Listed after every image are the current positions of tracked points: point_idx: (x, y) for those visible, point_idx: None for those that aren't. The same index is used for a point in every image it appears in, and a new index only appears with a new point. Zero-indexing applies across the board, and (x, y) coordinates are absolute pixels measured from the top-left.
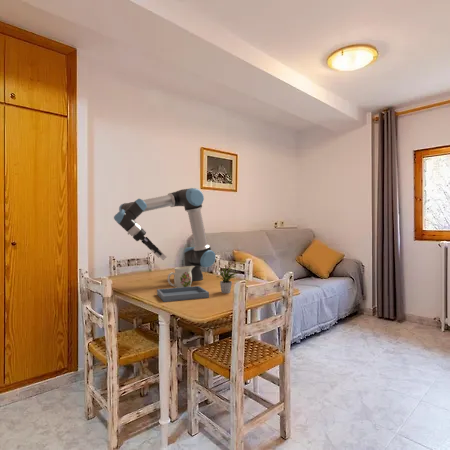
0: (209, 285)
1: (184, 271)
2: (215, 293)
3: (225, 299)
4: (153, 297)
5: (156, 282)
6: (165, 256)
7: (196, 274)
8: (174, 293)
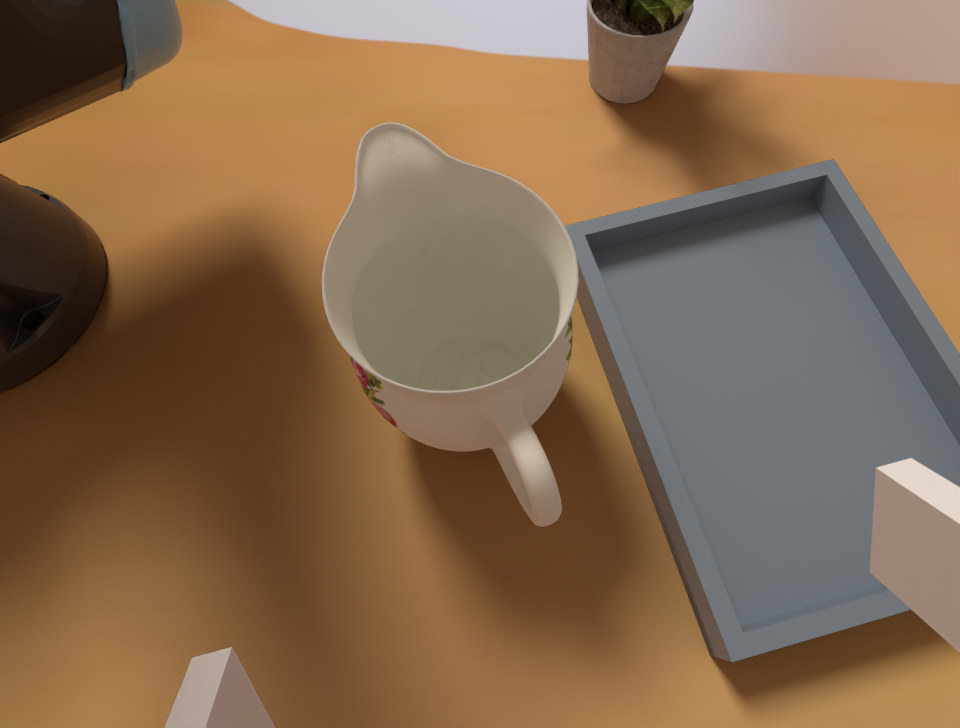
0: (344, 168)
1: (565, 270)
2: (658, 142)
3: (853, 95)
4: (849, 690)
5: (4, 713)
6: (944, 490)
7: (49, 224)
8: (724, 459)
